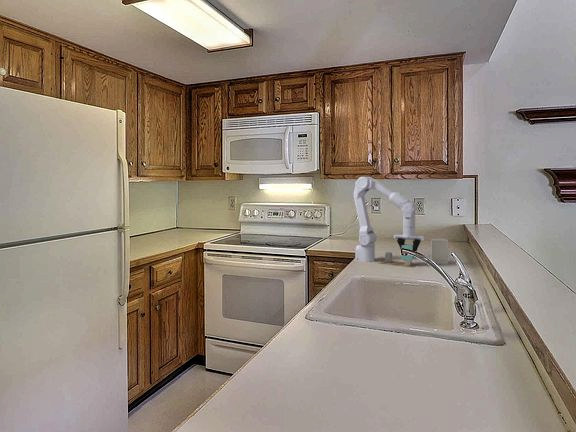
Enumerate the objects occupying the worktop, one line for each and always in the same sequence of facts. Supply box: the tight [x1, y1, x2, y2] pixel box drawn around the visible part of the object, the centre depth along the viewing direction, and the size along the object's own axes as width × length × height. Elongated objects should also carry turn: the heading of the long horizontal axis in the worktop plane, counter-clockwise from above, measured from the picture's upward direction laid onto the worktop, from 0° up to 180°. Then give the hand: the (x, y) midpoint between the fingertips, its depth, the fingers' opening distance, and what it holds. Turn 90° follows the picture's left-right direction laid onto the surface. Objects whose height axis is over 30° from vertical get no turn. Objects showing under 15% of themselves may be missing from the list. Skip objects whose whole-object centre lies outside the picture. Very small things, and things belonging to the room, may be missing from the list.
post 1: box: [384, 251, 393, 263], centre depth 197 cm, size 3×3×5 cm
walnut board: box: [377, 259, 420, 269], centre depth 194 cm, size 18×9×1 cm, turn 55°
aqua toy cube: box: [401, 243, 417, 261], centre depth 191 cm, size 5×5×7 cm
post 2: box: [404, 259, 413, 266], centre depth 191 cm, size 3×3×5 cm
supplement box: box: [429, 238, 449, 265], centre depth 195 cm, size 7×7×13 cm
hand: (408, 254), depth 191 cm, fingers closed on aqua toy cube, 5 cm apart
